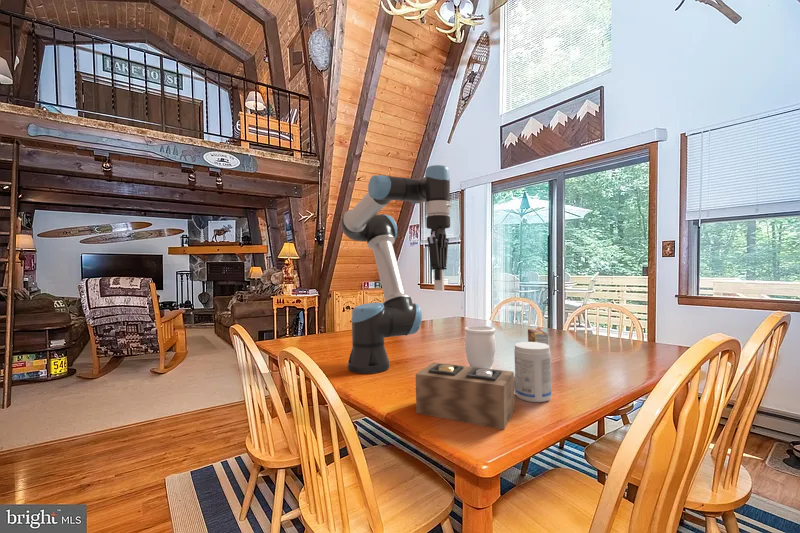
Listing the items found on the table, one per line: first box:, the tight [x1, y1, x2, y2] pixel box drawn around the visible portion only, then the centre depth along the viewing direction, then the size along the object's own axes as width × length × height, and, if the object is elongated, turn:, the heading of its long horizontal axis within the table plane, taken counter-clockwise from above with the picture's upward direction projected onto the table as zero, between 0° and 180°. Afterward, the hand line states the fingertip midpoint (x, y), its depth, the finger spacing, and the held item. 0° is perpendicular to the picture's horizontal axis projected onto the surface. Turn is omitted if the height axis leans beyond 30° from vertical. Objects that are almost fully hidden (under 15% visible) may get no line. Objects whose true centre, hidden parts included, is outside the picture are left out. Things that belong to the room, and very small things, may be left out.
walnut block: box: [415, 362, 515, 430], centre depth 95 cm, size 22×12×11 cm, turn 63°
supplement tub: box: [513, 341, 552, 403], centre depth 105 cm, size 10×10×15 cm
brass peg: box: [439, 364, 454, 372], centre depth 97 cm, size 4×4×10 cm
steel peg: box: [476, 369, 493, 377], centre depth 93 cm, size 4×4×10 cm
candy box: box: [527, 328, 549, 345], centre depth 123 cm, size 9×4×15 cm, turn 177°
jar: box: [464, 325, 497, 369], centre depth 131 cm, size 11×10×15 cm
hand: (439, 290), depth 118 cm, fingers closed
